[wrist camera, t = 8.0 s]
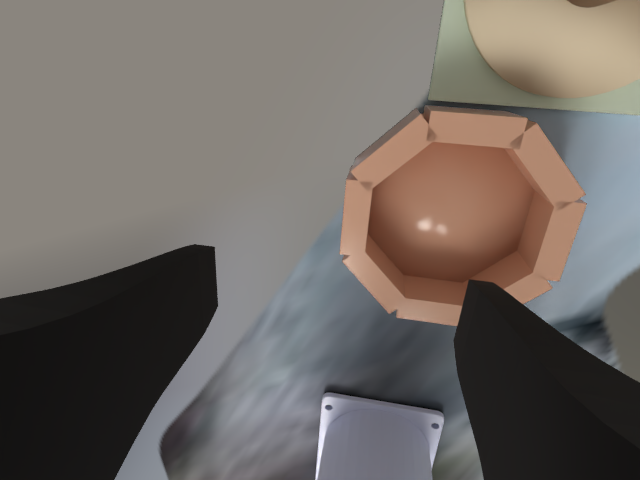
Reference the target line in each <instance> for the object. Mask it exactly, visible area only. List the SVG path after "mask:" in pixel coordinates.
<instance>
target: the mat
mask: <svg viewBox="0 0 640 480" xmlns="http://www.w3.org/2000/svg"><path fill="white" fill-rule="evenodd" d="M428 100H434V101H448V102H462V103H476V104H489V105H503V106H517V107H530V108H544V109H558V110H572V111H585V112H599V113H613V114H627V115H640V79H638V80H636V81H634V82H632V83H630V84H628V85H626V86H623V87H621V88H618V89H615V90H612V91H609V92H606V93H602V94H598V95H594V96H588V97H580V98H555V97H548V96H541V95H537V94H533V93H530V92H526V91H524V90H521V89H519V88H517V87H515V86H513V85H511V84H510V83H508V82H507V81H505V80H504V79H502V78H501V77H500V76H498V75H497V74H496V73H495V72H494V71H493V70H492V69H491V68H490V67H489V66H488V64H487V63H486V62H485V61H484V59H483V58H482V57H481V55H480V53H479V52H478V50H477V48H476V46H475V45H474V42H473V40H472V37H471V35H470V32H469V29H468V25H467V21H466V17H465V10H464V1H463V0H444V3H443V9H442V15H441V22H440V28H439V34H438V40H437V46H436V52H435V58H434V64H433V71H432V77H431V83H430V89H429V95H428Z"/></svg>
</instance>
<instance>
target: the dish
mask: <svg viewBox="0 0 640 480" xmlns="http://www.w3.org/2000/svg"><path fill="white" fill-rule="evenodd" d="M584 195H586V194H585V192H584V191H583V189H582V188H581V186H580V185H579V184H578V182H577V181H576V179H575V178H574V176H573V175H572V173H571V172H570V170H569V169H568V167H567V166H566V165H565V163H564V162H563V160H562V159H561V157H560V156H559V154H558V153H557V151H556V150H555V149H554V147H553V146H552V144H551V143H550V141H549V140H548V138H547V137H546V135H545V134H544V133H543V131H542V130H541V128H540V127H539V125H538V124H537V123H535V122H532V121H529V120H528V118H526V117H523V116H520V115H517V114H514V113H511V112H508V111H499V110H486V109H472V108H459V107H445V106H432V105H425V106H424V113H421V114H420V112H419V111H418V110H417V108H415V109H414V110H413V111H412V112H410V113H409V114H408V115H407V116H406V117H404V118H403V119H402V120H401V121H400V122H398V123H397V124H396V125H395V126H394V127H392V128H391V129H390V130H389V131H388V132H386V133H385V134H384V135H383V136H381V137H380V138H379V139H378V140H377V141H376V142H374V143H373V144H372V145H371V146H369V147H368V148H367V149H366V150H365V151H363V152H362V153H361V154H360V155H359V156H357V157H356V159H355V161H354V164H353V165H352V166H351V169H350V171H349V174H348V176H347V179H346V188H345V199H344V210H343V222H342V233H341V244H340V254H342V255H344V256H343V260H342V262H343V263H344V264H345V265H346V266H347V267H348V269H349V270H350V271H351V272H352V273H353V274H354V275H355V276H356V277H357V279H358V280H359V281H360V282H361V283H362V284H363V285H364V286H365V288H366V289H367V290H368V291H369V292H370V293H371V294H372V295H373V296H374V298H375V299H376V300H377V301H378V302H379V303H380V304H381V305H382V306H383V308H384V309H385V310H386V311H387V312H388V313H389V314H390V313H392V312H393V311H395V310H396V318H403V319H410V320H417V321H424V322H431V323H438V324H445V325H452V326H457V325H458V321H459V317H460V313H461V309H462V305H463V301H464V297H465V293H466V289H467V285H468V281H469V279H472V280H480V281H487V282H493V283H495V284H496V285H498V286H499V287H501V288H502V289H504V290H505V291H506V292H508V293H509V294H510V295H512V296H513V297H514V298H515V299H517V300H518V301H519V302H520V303H522V304H524V303H526V302H528V301H530V300H532V299H534V298H535V297H537V296H539V295H541V294H543V293H545V292H547V291H549V290H550V289H552V286H551V285H550V284H549V282H548V281H547V280H551V281H560V278H561V275H562V272H563V269H564V267H565V264H566V261H567V258H568V255H569V253H570V250H571V247H572V244H573V241H574V239H575V236H576V233H577V230H578V227H579V225H580V222H581V219H582V216H583V213H584V211H585V208H586V205H587V203H585V202H584V201H582V200H581V199H579V198H581V197H583V196H584Z"/></svg>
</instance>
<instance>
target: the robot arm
mask: <svg viewBox="0 0 640 480" xmlns="http://www.w3.org/2000/svg"><path fill="white" fill-rule="evenodd" d="M217 307H218V298H217V282H216V264H215V247H212V246H204V245H196V244H194V245H190V246H185V247H182V248H179V249H176V250H173V251H170V252H167V253H164V254H162V255H159V256H156V257H153V258H151V259H148V260H145V261H142V262H139V263H137V264H134V265H131V266H128V267H125V268H122V269H119V270H116V271H113V272H110V273H107V274H104V275H100V276H98V277H94V278H91V279H88V280H84V281H80V282H76V283H73V284H69V285H65V286H61V287H56V288H53V289H48V290H43V291H38V292H33V293H28V294H22V295H18V296H12V297H6V298H1V299H0V480H114V479H115V477H116V475H117V473H118V471H119V469H120V468H121V466H122V464H123V462H124V460H125V458H126V456H127V454H128V452H129V450H130V448H131V446H132V444H133V443H134V441H135V439H136V437H137V436H138V433H139V432H140V430H141V428H142V427H143V425H144V423H145V421H146V419H147V418H148V416H149V414H150V412H151V410H152V409H153V407H154V406H155V404H156V403H157V401H158V399H159V398H160V396H161V395H162V393H163V392H164V390H165V389H166V388H167V386H168V385H169V383H170V382H171V381H172V379H173V378H174V376H175V375H176V374H177V372H178V371H179V369H180V368H181V366H182V365H183V364H184V362H185V361H186V359H187V358H188V356H189V355H190V354H191V352H192V351H193V349H194V348H195V346H196V345H197V343H198V342H199V341H200V339H201V338H202V336H203V335H204V333H205V331H206V329H207V327H208V326H209V324H210V322H211V320H212V317H213V315H214V313H215V311H216V309H217ZM454 348H455V358H456V366H457V373H458V377H459V381H460V385H461V389H462V393H463V397H464V401H465V404H466V408H467V412H468V415H469V419H470V423H471V427H472V430H473V434H474V438H475V441H476V445H477V449H478V453H479V457H480V462H481V466H482V471H483V477H484V480H640V383H639V382H637V381H635V380H634V379H632V378H630V377H628V376H627V375H625V374H623V373H622V372H620V371H618V370H617V369H615V368H613V367H612V366H610V365H608V364H607V363H605V362H603V361H602V360H600V359H598V358H597V357H595V356H594V355H592V354H591V353H589V352H587V351H586V350H584V349H583V348H582V347H580V346H579V345H577V344H576V343H574V342H573V341H571V340H570V339H568V338H567V337H566V336H564V335H563V334H561V333H560V332H559V331H557V330H556V329H554V328H553V327H552V326H550V325H549V324H548V323H546V322H545V321H544V320H542V319H541V318H540V317H538V316H537V315H536V314H535V313H533V312H532V311H531V310H529V309H528V308H527V307H526V306H524V305H523V304H522V303H520V302H519V301H518V300H517V299H515V298H514V297H513V296H512V295H510V294H509V293H508V292H506V291H505V290H504V289H502V288H501V287H499V286H498V285H496V284H495V283H493V282H487V281H480V280H472V279H469V281H468V285H467V289H466V293H465V297H464V301H463V305H462V309H461V313H460V317H459V321H458V325H457V329H456V333H455V337H454ZM328 405H331V406H328ZM433 423H437V424H433ZM443 424H444V415H443V413H441V412H440V411H437V410H431V409H425V408H419V407H413V406H407V405H401V404H395V403H389V402H383V401H377V400H372V399H366V398H360V397H354V396H348V395H342V394H336V393H325V394H324V395H323V397H322V406H321V418H320V430H319V442H318V454H317V466H316V478H315V480H433V479H432V466H433V462H434V459H435V455H436V451H437V447H438V443H439V440H440V436H441V432H442V428H443Z"/></svg>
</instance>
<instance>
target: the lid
mask: <svg viewBox="0 0 640 480" xmlns="http://www.w3.org/2000/svg"><path fill="white" fill-rule="evenodd" d="M463 1H464V10H465V17H466V21H467V25H468V29H469V32H470V35H471V37H472V40H473V42H474V45H475V46H476V48H477V50H478V52H479V53H480V55H481V57H482V58H483V59H484V61H485V62H486V63H487V64H488V66H489V67H490V68H491V69H492V70H493V71H494V72H495V73H496V74H497V75H498V76H500V77H501V78H502V79H504V80H505V81H507V82H508V83H510V84H511V85H513V86H515V87H517V88H519V89H521V90H524V91H526V92H530V93H533V94H537V95H541V96H548V97H555V98H580V97H588V96H594V95H598V94H602V93H606V92H609V91H612V90H615V89H618V88H621V87H623V86H626V85H628V84H630V83H632V82H634V81H636V80H638V79H640V0H463Z"/></svg>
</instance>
